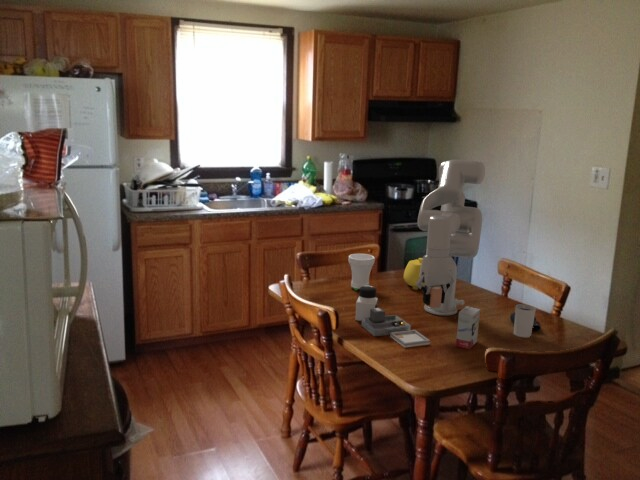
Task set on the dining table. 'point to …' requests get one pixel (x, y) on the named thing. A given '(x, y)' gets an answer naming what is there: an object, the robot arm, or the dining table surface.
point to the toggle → (377, 315)
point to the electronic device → (535, 325)
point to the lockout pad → (409, 338)
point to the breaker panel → (386, 325)
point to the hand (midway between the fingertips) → (433, 302)
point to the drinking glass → (524, 320)
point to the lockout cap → (435, 296)
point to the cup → (360, 269)
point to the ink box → (467, 327)
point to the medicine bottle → (366, 302)
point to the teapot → (413, 273)
